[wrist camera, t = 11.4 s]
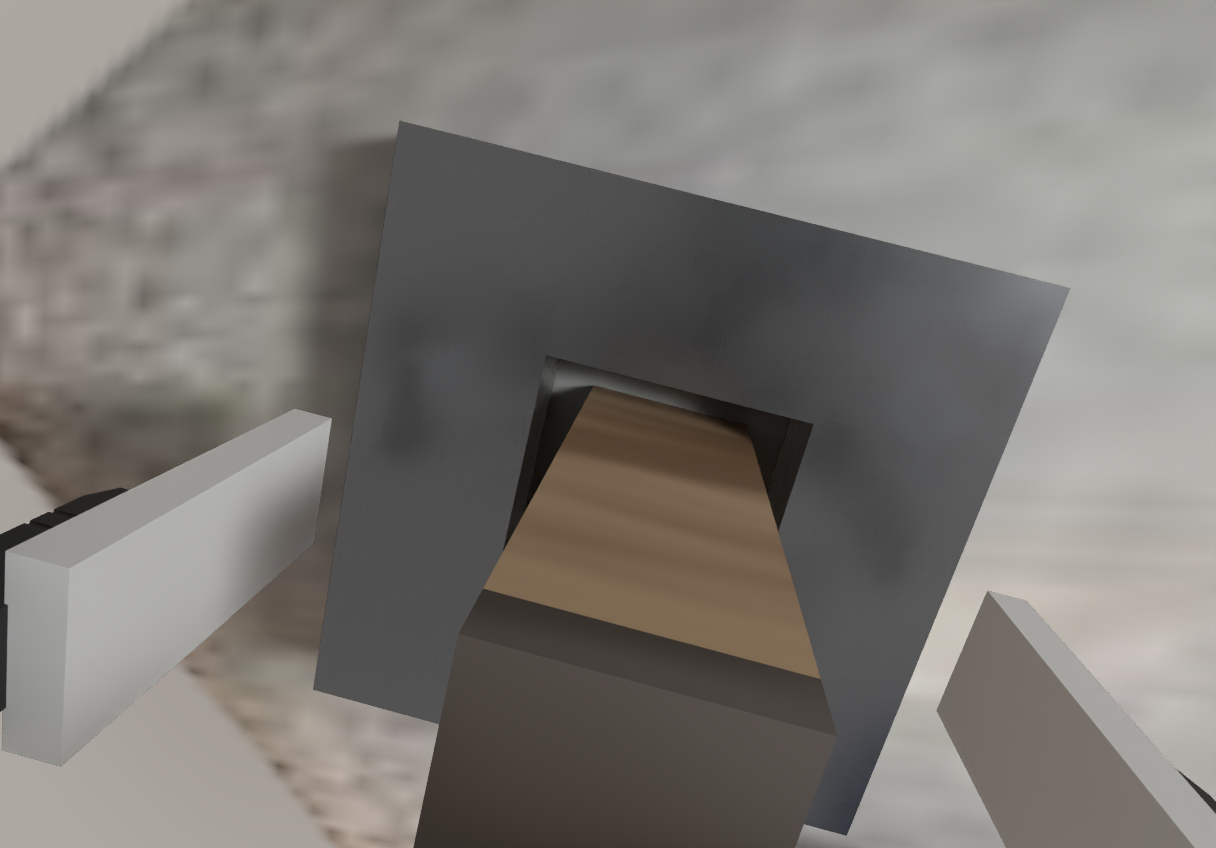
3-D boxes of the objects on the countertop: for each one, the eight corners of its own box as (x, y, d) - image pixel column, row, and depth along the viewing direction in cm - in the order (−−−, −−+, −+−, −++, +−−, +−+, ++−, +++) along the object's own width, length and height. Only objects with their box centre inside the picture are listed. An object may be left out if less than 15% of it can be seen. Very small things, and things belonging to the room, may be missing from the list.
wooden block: (593, 385, 19) (458, 633, 8) (747, 425, 19) (837, 736, 8) (559, 526, 21) (397, 925, 9) (704, 565, 20) (728, 1018, 9)
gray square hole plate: (437, 133, 18) (399, 120, 16) (1018, 278, 18) (1070, 288, 15) (353, 637, 22) (313, 689, 20) (828, 766, 22) (846, 835, 19)
